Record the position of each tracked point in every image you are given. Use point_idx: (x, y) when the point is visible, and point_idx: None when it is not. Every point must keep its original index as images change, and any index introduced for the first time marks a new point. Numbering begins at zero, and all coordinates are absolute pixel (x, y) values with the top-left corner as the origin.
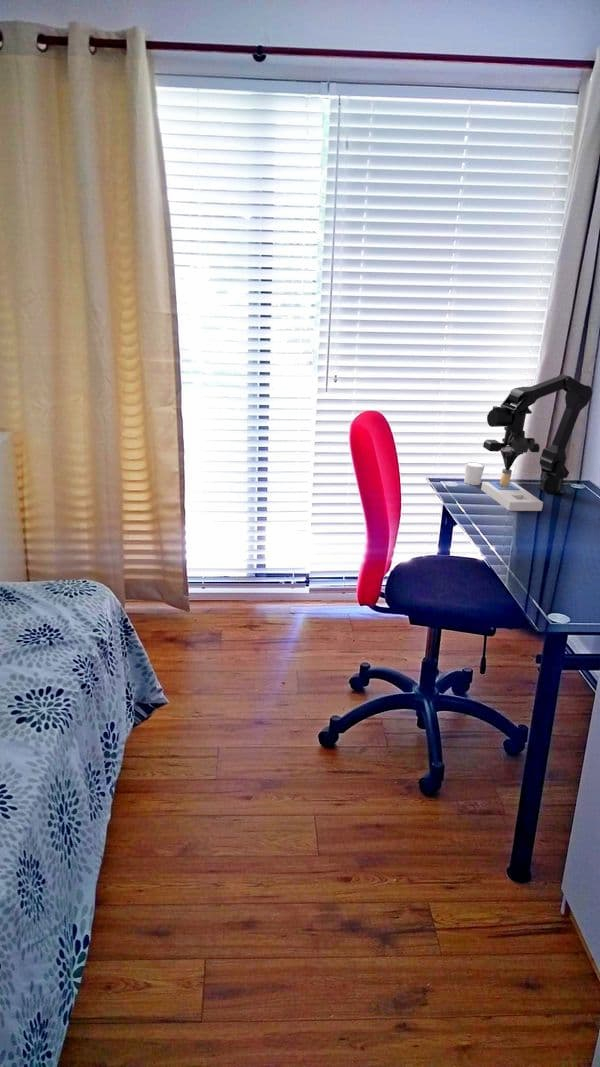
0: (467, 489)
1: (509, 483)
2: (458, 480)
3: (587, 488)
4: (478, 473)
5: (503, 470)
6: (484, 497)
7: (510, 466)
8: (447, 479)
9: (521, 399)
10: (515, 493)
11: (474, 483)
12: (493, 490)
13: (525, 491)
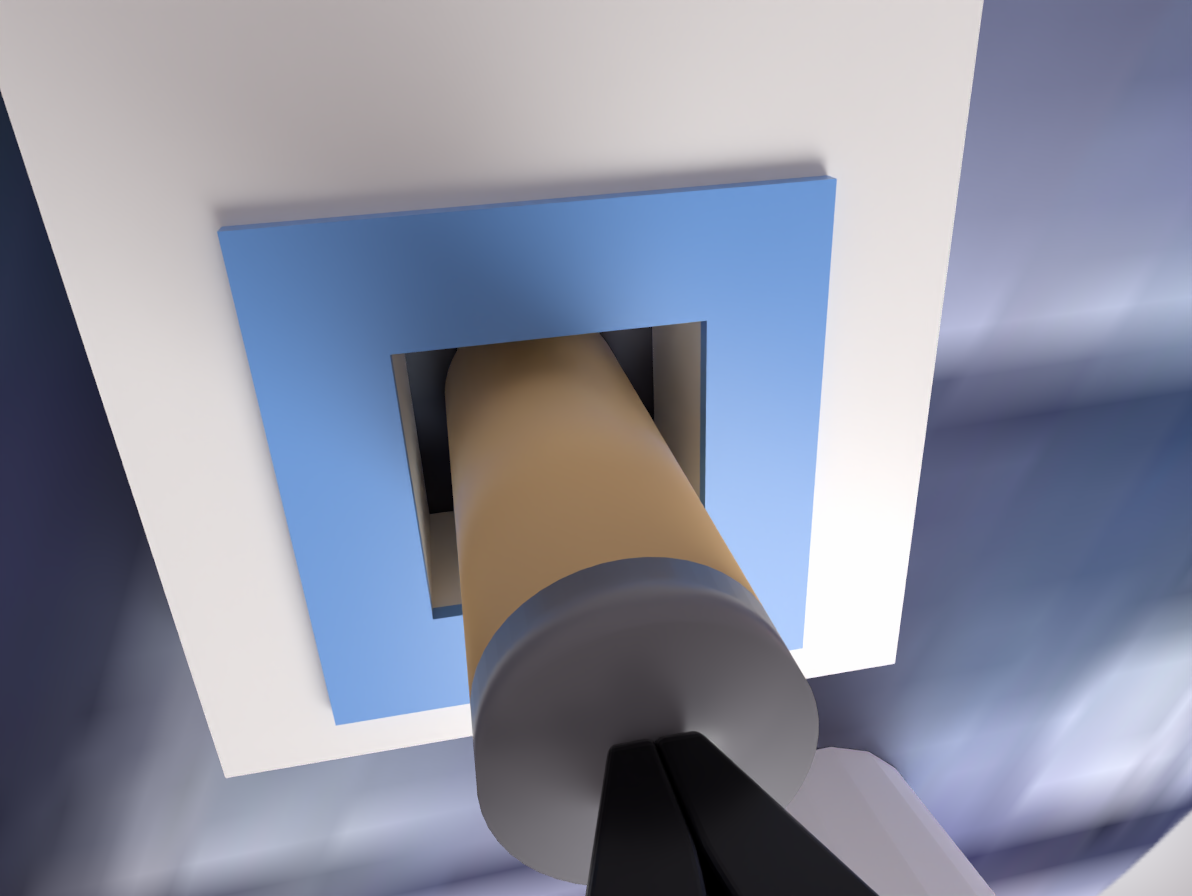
0: (1042, 544)
1: (471, 462)
2: None
3: None
4: None
5: (812, 700)
6: (996, 156)
7: (622, 859)
8: (1064, 864)
9: None
10: None
11: (838, 765)
12: (952, 152)
13: (66, 88)
